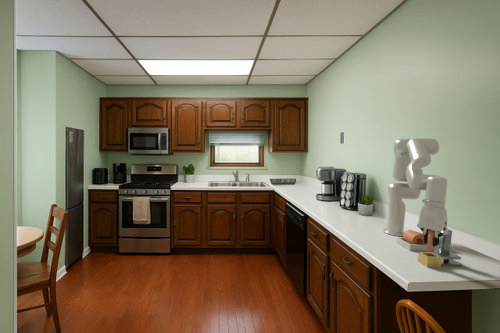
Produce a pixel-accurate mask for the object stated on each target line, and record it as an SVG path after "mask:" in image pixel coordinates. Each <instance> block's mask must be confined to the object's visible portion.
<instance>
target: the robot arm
mask: <svg viewBox="0 0 500 333" xmlns="http://www.w3.org/2000/svg"><path fill="white" fill-rule="evenodd" d="M439 150H440V144H439V141H437V139H435V138H428V137H427V138H426V137H415V138H399V139H396V140H395V142H394V143H393V152H394V164H393V171H392V178H393V179H394V180H395V181H397V182H392V183H390V184H389V185H388V187H387V194H388V202H387V204H388V205H387V206H388V207H387V218H386V223H385V224H384V227H385V228H384V229H383V232H384V234H387V235H390V236H393V237H394V236H395V237H403V234H404V233H405V232H406V231H405V229H404V228H405V216H406V204H405V202H404V200H417V199H419V198H420V197H421V196H420V195H421V191H425V197H424V199H422V200H421V202H422V203H423V205H422V206H421V209H420V212H419V216H418V217H419V218H418V223H417V225H416V227H417V228H419V230H421V233H422V234H424V243H425V244H427V238H428V229H430V230H434V231H435V237H434V238H433V246H438V244H439V239H440V237H441V236H443V235H446V234H449V231H448V214H447V213H448V212H447V208H445V207H446V200H447V198H446V197H447V191H448V190H447V189H448V188H447V186H448V179H447V177H443V176H440V175H436V174H424V172H423V168H425V167H428V166H429V165H430V164H431V163H432V157H431V156H434V155H437V153H439ZM441 231H444V232H441Z"/></svg>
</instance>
